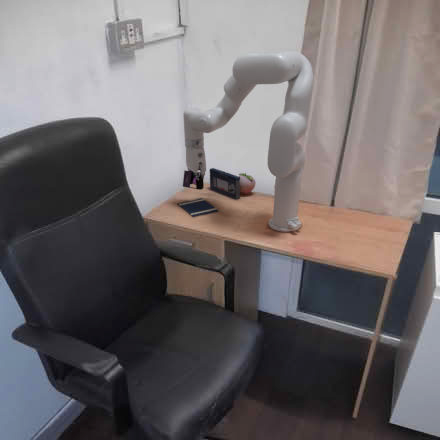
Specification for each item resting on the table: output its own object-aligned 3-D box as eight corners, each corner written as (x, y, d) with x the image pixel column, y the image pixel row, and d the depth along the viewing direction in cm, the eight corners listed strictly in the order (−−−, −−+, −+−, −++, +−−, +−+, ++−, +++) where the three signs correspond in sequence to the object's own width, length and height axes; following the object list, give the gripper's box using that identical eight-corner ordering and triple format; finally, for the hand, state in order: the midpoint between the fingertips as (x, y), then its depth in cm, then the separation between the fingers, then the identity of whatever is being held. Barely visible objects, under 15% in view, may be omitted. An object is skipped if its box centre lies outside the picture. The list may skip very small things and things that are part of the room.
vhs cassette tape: (209, 189, 200) (209, 168, 194) (214, 187, 201) (214, 167, 196) (235, 200, 188) (235, 178, 182) (240, 198, 189) (240, 176, 184)
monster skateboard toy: (183, 170, 175) (202, 173, 172) (189, 170, 180) (208, 173, 176) (181, 186, 177) (200, 189, 174) (187, 186, 181) (205, 189, 178)
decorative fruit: (231, 194, 194) (231, 173, 188) (242, 189, 199) (242, 168, 193) (247, 199, 189) (248, 177, 183) (258, 193, 194) (259, 172, 188)
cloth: (218, 211, 178) (218, 210, 178) (193, 216, 173) (193, 216, 173) (201, 199, 189) (201, 198, 189) (177, 204, 185) (177, 203, 185)
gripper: (212, 146, 161) (213, 191, 172) (193, 136, 174) (195, 178, 184) (195, 149, 158) (197, 194, 169) (177, 138, 171) (179, 181, 181)
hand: (196, 185), depth 176 cm, fingers closed on monster skateboard toy, 6 cm apart
